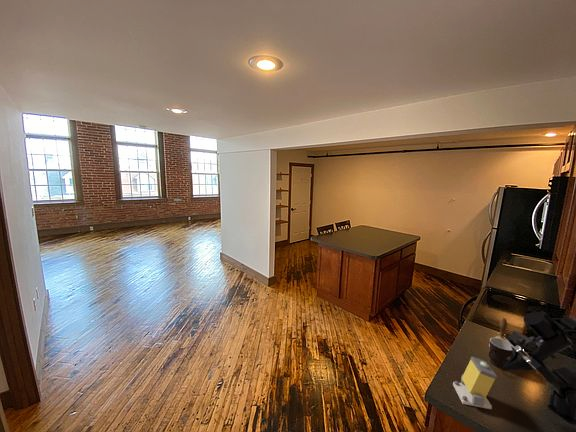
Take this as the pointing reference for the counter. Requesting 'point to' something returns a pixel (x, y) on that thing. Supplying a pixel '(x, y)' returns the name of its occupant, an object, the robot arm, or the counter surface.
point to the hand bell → (502, 329)
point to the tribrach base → (470, 396)
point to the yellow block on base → (478, 377)
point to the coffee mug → (500, 352)
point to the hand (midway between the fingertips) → (505, 368)
